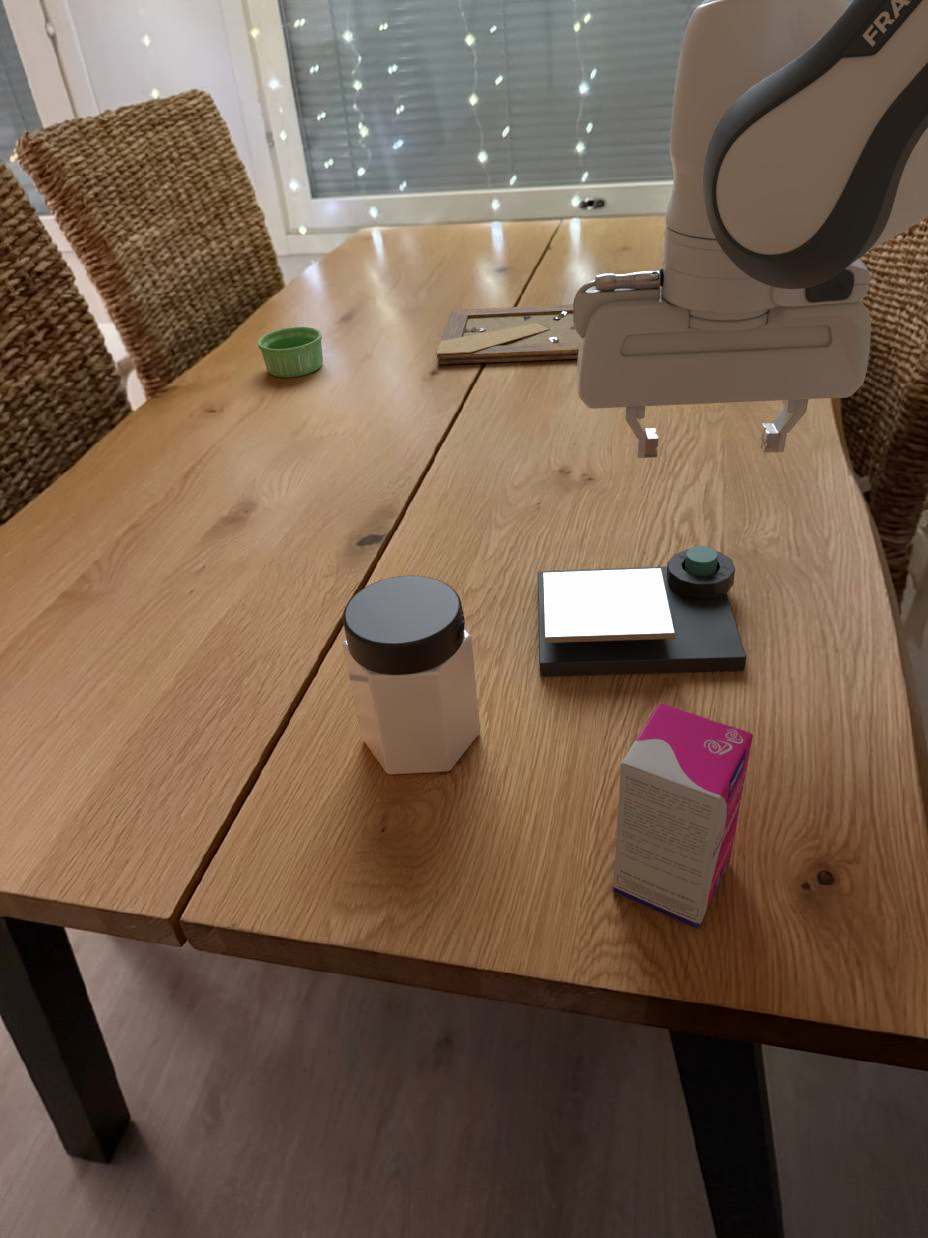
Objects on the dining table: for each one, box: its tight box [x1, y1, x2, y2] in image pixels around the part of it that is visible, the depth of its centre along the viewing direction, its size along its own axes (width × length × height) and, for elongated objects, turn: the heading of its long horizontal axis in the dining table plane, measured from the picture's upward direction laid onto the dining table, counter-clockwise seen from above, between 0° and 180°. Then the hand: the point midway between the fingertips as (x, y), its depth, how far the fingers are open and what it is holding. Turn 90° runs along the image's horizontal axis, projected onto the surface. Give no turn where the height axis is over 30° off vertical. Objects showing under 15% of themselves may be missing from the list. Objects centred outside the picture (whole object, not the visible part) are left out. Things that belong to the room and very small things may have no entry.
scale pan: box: [543, 568, 675, 643], centre depth 75 cm, size 10×9×1 cm
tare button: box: [685, 545, 718, 576], centre depth 79 cm, size 3×3×2 cm
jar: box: [342, 575, 481, 775], centre depth 66 cm, size 9×8×12 cm
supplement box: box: [611, 702, 754, 929], centre depth 54 cm, size 6×6×12 cm
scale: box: [537, 548, 747, 677], centre depth 77 cm, size 17×13×3 cm
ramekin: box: [257, 326, 324, 378], centre depth 131 cm, size 9×9×4 cm
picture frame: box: [436, 303, 581, 365], centre depth 133 cm, size 19×2×24 cm
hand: (708, 452), depth 70 cm, fingers open, 8 cm apart
